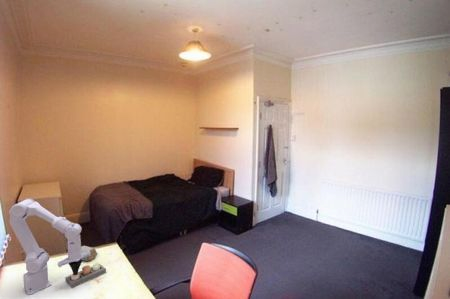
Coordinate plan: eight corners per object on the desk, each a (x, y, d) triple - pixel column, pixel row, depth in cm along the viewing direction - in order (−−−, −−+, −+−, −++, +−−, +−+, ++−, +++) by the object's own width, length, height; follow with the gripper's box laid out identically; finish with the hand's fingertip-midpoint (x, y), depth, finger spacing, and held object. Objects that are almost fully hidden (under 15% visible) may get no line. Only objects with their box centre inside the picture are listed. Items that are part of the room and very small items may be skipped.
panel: (71, 288, 121) (71, 283, 121) (65, 281, 126) (65, 277, 126) (106, 272, 134) (105, 268, 134) (99, 267, 139) (99, 263, 139)
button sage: (94, 275, 132) (94, 268, 131) (91, 272, 134) (91, 265, 133) (101, 272, 134) (101, 265, 134) (98, 269, 137) (98, 263, 136)
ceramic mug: (88, 263, 143) (87, 250, 143) (76, 261, 145) (76, 249, 145) (101, 254, 153) (101, 243, 153) (90, 253, 155) (89, 241, 155)
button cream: (73, 284, 123) (72, 277, 123) (70, 281, 126) (70, 274, 125) (80, 281, 126) (80, 273, 126) (78, 278, 128) (77, 271, 128)
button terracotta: (84, 277, 127) (83, 269, 127) (81, 274, 130) (80, 267, 129) (91, 274, 130) (91, 266, 130) (88, 271, 132) (88, 264, 132)
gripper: (60, 257, 116) (62, 284, 117) (92, 246, 128) (93, 270, 129) (55, 252, 121) (56, 278, 122) (86, 242, 132) (87, 266, 133)
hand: (75, 274), depth 126 cm, fingers closed, pressing on button cream
